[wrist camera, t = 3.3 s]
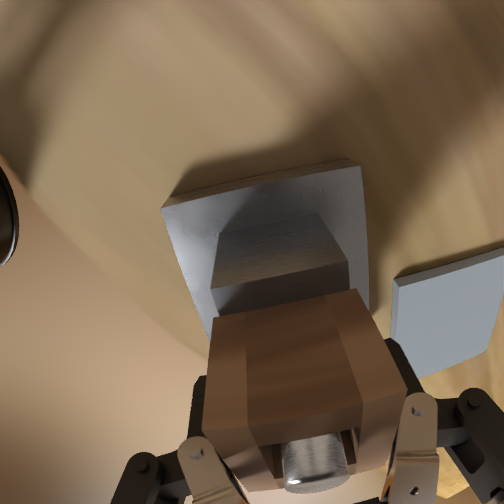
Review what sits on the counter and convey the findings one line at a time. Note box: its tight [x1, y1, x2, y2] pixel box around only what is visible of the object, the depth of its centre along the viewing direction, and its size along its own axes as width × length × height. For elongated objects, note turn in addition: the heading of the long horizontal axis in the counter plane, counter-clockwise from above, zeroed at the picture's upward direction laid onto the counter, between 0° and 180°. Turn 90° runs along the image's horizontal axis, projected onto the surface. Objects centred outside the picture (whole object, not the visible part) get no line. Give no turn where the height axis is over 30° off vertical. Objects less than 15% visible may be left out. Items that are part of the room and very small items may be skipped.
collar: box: [202, 288, 408, 492], centre depth 10 cm, size 6×6×5 cm
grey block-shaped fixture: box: [160, 159, 369, 493], centre depth 13 cm, size 12×10×13 cm
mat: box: [390, 247, 504, 379], centre depth 21 cm, size 11×11×1 cm
